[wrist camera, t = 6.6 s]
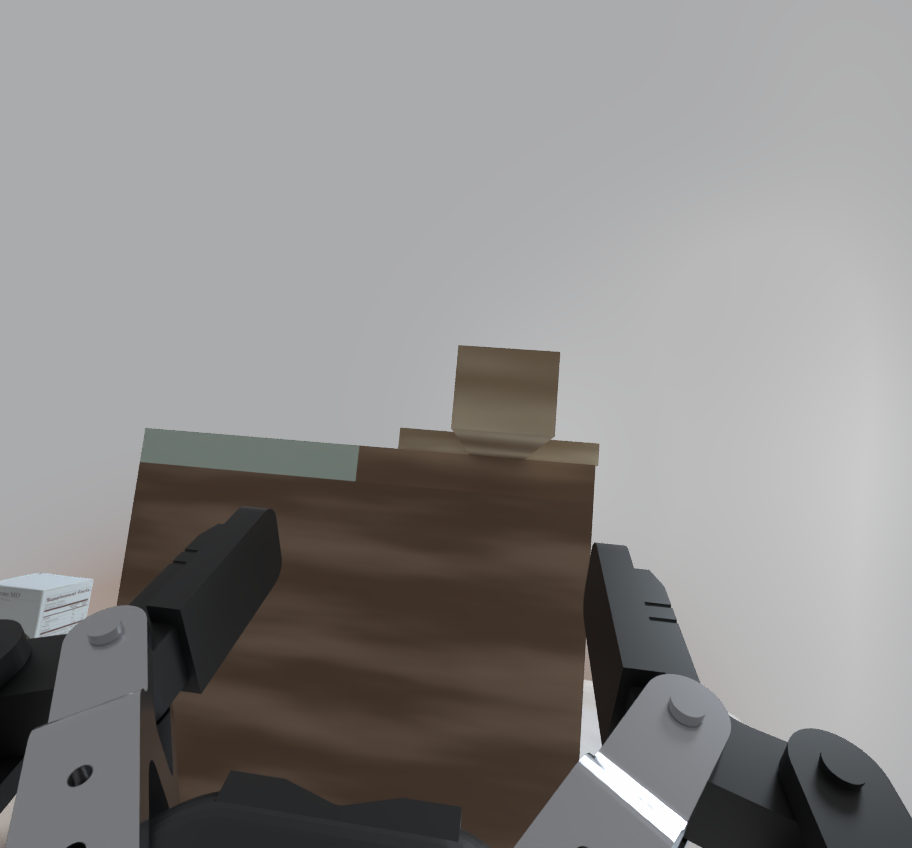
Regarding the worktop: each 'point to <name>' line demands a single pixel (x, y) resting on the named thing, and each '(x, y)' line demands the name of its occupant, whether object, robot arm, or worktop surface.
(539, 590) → the walnut stand
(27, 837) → the robot arm
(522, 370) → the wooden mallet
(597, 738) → the worktop surface
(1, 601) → the supplement box
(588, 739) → the worktop surface
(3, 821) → the worktop surface
